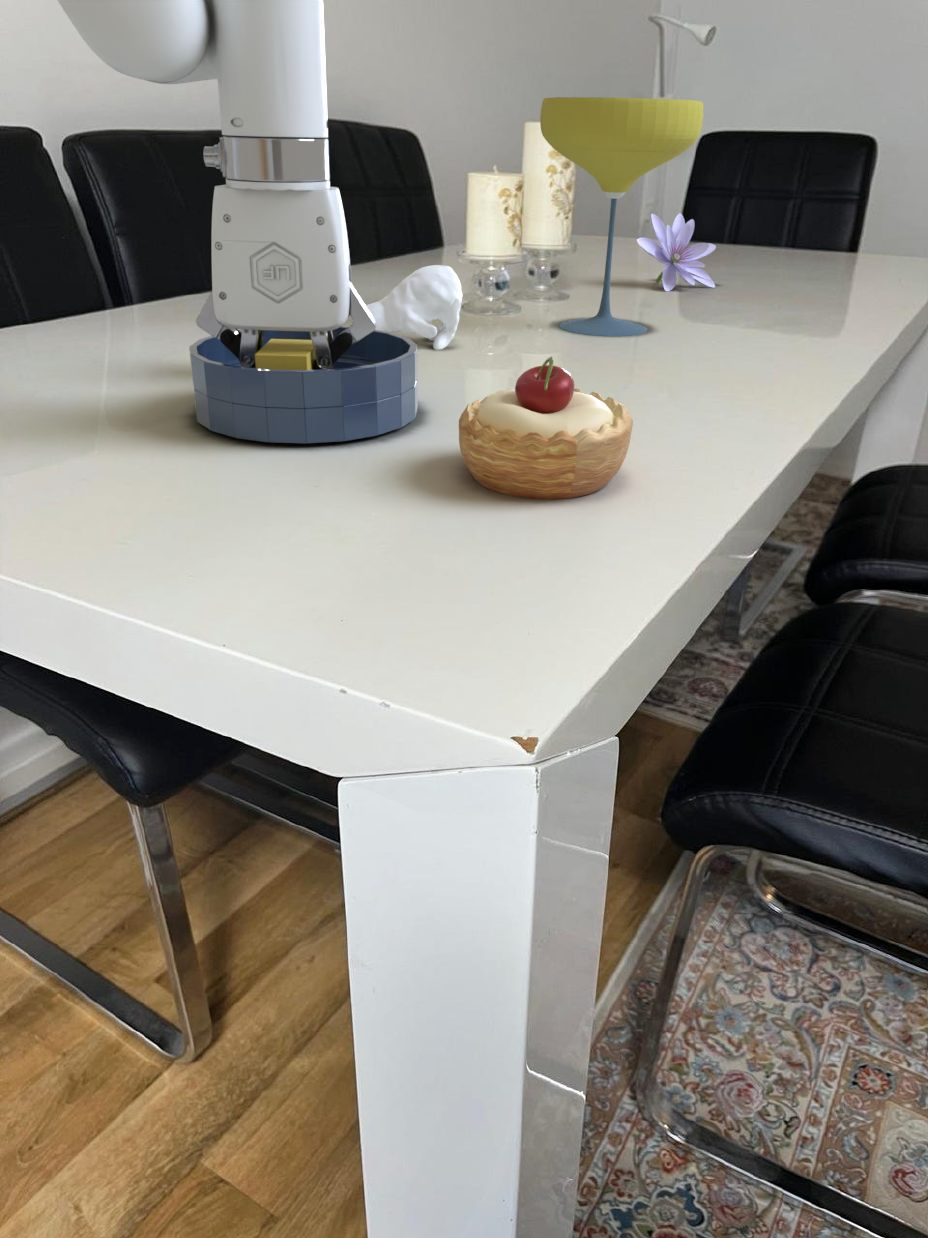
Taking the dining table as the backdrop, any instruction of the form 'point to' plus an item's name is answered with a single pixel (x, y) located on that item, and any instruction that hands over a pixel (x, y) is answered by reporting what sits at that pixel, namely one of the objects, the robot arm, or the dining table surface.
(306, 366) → the sponge
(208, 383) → the bowl
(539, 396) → the pastry
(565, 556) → the dining table surface
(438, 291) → the white lumpy piece
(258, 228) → the robot arm
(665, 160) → the cocktail glass
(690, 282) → the water lily
